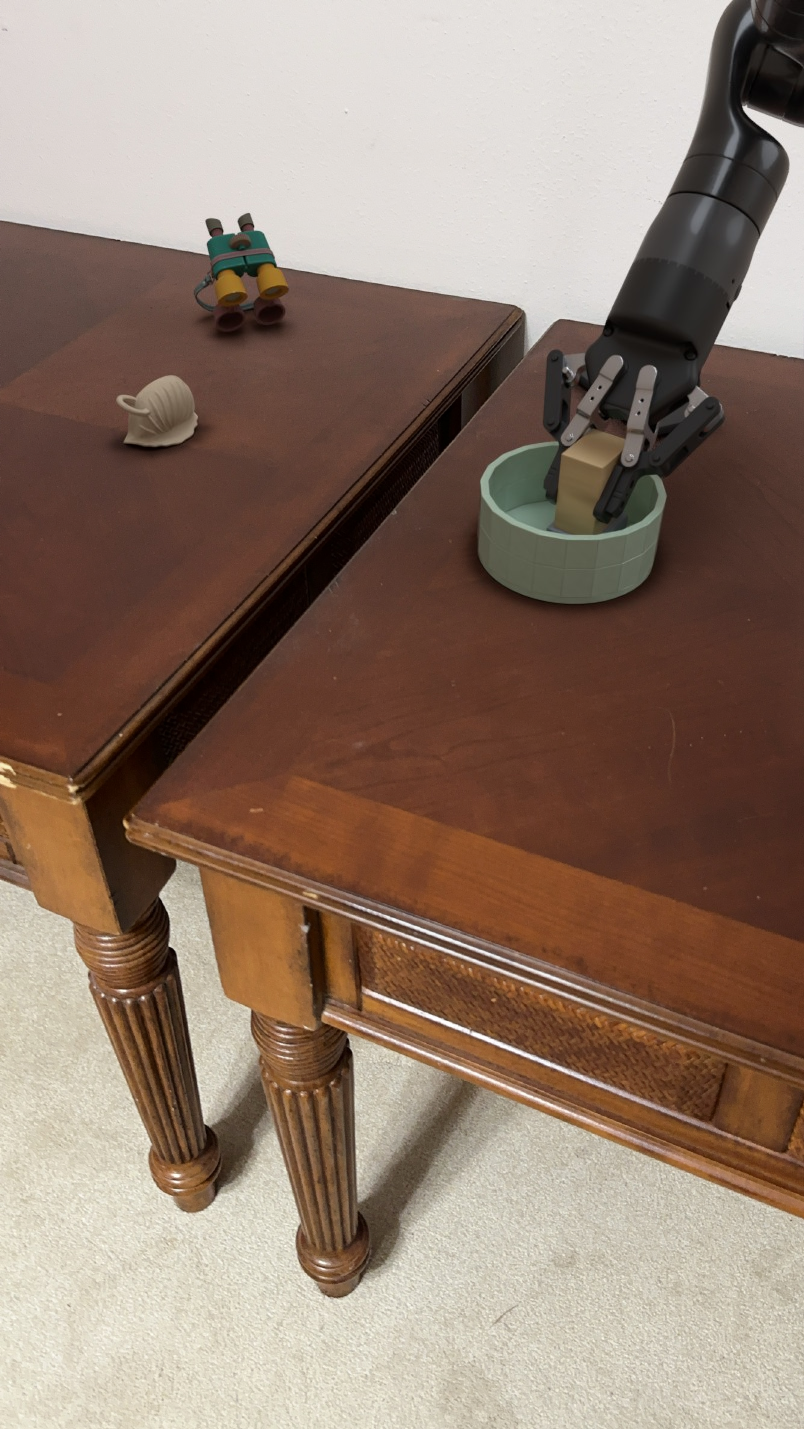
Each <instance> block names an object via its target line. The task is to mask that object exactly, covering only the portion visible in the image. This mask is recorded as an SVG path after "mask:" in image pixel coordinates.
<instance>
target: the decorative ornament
mask: <svg viewBox="0 0 804 1429" xmlns="http://www.w3.org/2000/svg"><path fill="white" fill-rule="evenodd" d="M127 403H129V404H131V405H128V404H127ZM116 404H117V405H118V406H119V407H120V408H121V409H122V410H124V411H125V412H127V413H128V416H127V417H128V420H127V434H126V437H125V438H124V440H123V444H131V445H138V446H142V447H152V448H157V447H170V446H175V445H181V444H183V443H184V442H185V441H186V440H188V439H190V438H191V437H192V436H194V433H195V429H196V428H197V427H198V420H199V416H198V415H197V414H196V412H195V409H196V408H195V399H194V395H193V393H192V391H191V388H190V387H189V385H188V384H187V383H185V381H184V380H182V379H181V378H180V377H178V376H177V375H173V374H171V375H170V374H169V375H165V376H162V377H159V378H156V379H155V380H153V381H152V382H150V383H149V384H147V385H145V386H144V387H143V389H141V390H140V391H139V392H138V394H137V395H136V396H133V395H128V394H120V395H118V396H117V397H116Z"/></svg>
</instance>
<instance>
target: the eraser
mask: <svg viewBox="0 0 804 1429" xmlns="http://www.w3.org/2000/svg"><path fill="white" fill-rule="evenodd" d="M625 440H626V438H624V437H621V436H617V435H614V434H612V433H608V432H605V431H603V432H602V431H599V430H596V429H592V430H590V431H589V432H588V433H587V434H585V435H584V436H583V437H582V438H581V439H579V440H578V441H577V442H576V443H574V444H573V445H572V446H571V447H570V448H568V449H567V450H566V451H565V452H563V453H562V455H561V465H560V474H559V484H558V493H557V502H556V512H555V521H554V522H553V523H552V524H550V525H549V526H548V527H547V531H549V532H554V533H560V534H566V535H598V534H603V533H609V532H614V531H619V530H623V529H625V528H626V526H627V520H628V515H627V514H625V513H622V514H621V515H620V516H619V517H618V518H617V519H616V518H613V517H612V519H611V521H610V522H609V523H608V524H605V523H602V522H599V521H598V520H597V519H596V518H595V517H594V516H593V510H594V507H595V505H596V503H597V501H598V500H599V498H600V496H601V494H602V492H603V490H604V487H605V485H606V483H607V481H608V479H609V477H610V475H611V472H612V470H613V468H614V466H615V465H617V466H619V464H620V462H621V455H622V451H623V447H624V443H625Z"/></svg>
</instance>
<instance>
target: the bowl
mask: <svg viewBox="0 0 804 1429" xmlns="http://www.w3.org/2000/svg"><path fill="white" fill-rule="evenodd" d="M558 448H559V443H558V442H557V441H544V442H537V443H532V444H526V445H523V446H521V447H518V448H517V447H516V448H515V449H512V450H510V451H507V452H505V453H502V454H501V455H500V456H499V457H497V458H496V459H494V460H493V461H492V462H491V463H489V464H488V465H487V466H486V469H485V470H484V472H483V474H482V475H481V478H480V481H479V494H478V495H479V496H478V515H477V533H476V534H477V535H476V537H477V539H476V540H477V545H476V546H477V548H476V549H477V556H478V558H479V561H480V563H481V565H482V566H483V568H484V569H485V571H486V572H487V573H488V574H489V576H490V577H492V578H493V579H494V580H495V581H496V582H498V583H499V584H500V585H501V586H504V587H506V588H507V589H509V590H510V591H513V592H515V593H517V594H520V595H521V596H525V597H529V598H531V599H534V600H539V601H542V602H548V603H555V604H566V605H583V604H595V603H600V602H606V601H609V600H612V599H616V598H619V597H621V596H624V595H626V594H628V593H630V592H632V591H634V590H635V589H636V588H638V587H639V586H641V585H642V584H643V582H645V580H647V579H648V577H649V575H650V574H651V572H652V569H653V567H654V563H655V558H656V555H657V550H658V545H659V540H660V534H661V530H662V525H663V524H662V523H663V518H664V513H665V507H666V503H667V497H668V495H667V492H666V489H665V486H664V483H663V480H662V478H661V477H659V476H658V475H645V476H643V477H641V478H640V479H639V480H638V481H637V483H636V485H635V487H634V489H633V491H632V494H631V496H630V498H629V500H628V502H627V504H626V506H625V509H624V511H623V513H625V514H627V515H628V520H627V526H626V528H625V529H623V530H619V531H614V532H609V533H603V534H598V535H566V534H560V533H554V532H549V531H547V527H548V526H549V525H550V524H552V523H553V522H554V521H555V512H556V505H554V504H551V503H550V502H549V501H548V500H547V499H546V497H545V495H546V490H545V489H544V488H543V485H544V479H545V477H546V475H547V473H548V471H549V468H550V466H551V464H552V462H553V460H554V458H555V455H556V453H557V451H558Z"/></svg>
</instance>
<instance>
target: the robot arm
mask: <svg viewBox="0 0 804 1429" xmlns="http://www.w3.org/2000/svg"><path fill="white" fill-rule="evenodd" d="M703 91H704V92H703V95H702V96H703V97H702V101H701V107H700V111H699V115H698V120H697V123H696V126H695V130H694V133H693V136H692V139H691V141H690V144H689V147H688V149H687V152H686V154H685V157H684V159H683V161H682V164H681V166H680V168H679V170H678V173H677V175H676V177H675V178H674V181H673V182H672V185H671V188H670V190H669V191H668V194H667V196H666V198H665V200H664V202H663V204H662V206H661V207H660V210H659V211H658V212H657V214H656V216H655V217H654V219H653V220H652V222H651V224H650V225H649V227H648V229H647V231H646V233H645V235H644V237H643V239H642V242H641V243H640V246H639V247H638V250H637V252H636V254H635V257H634V259H633V261H632V263H631V265H630V267H629V270H628V272H627V274H626V275H625V278H624V280H623V283H622V284H621V287H620V289H619V291H618V293H617V295H616V298H615V300H614V302H613V304H612V306H611V308H610V310H609V313H608V315H607V318H606V320H605V321H604V326H603V329H602V331H601V333H600V335H599V336H598V338H597V339H595V341H594V342H593V343H591V344H590V345H589V346H588V347H587V349H586V350H585V352H579V353H570V354H564V353H563V352H562V350H560V349H556V348H555V349H552V350H551V351H550V352H548V354H547V356H546V364H545V365H546V366H545V367H546V368H545V380H544V381H545V383H544V397H543V398H544V399H543V414H542V415H543V416H542V427H543V428H544V429H545V430H546V431H547V432H548V434H549V435H550V436H551V437H552V438H553V440H555V442H558V443H559V448H558V451H557V453H556V455H555V458H554V460H553V462H552V464H551V466H550V468H549V471H548V473H547V475H546V477H545V479H544V485H543V488H544V489H545V490H546V495H545V497H546V499H547V500H548V501H549V502H550V503H551V504H554V505H556V502H557V493H558V484H559V474H560V465H561V455H562V453H563V452H565V451H566V450H567V449H568V448H570V447H571V446H572V445H573V444H574V443H576V442H577V441H578V440H579V439H581V438H582V437H583V436H584V435H585V434H587V433H588V432H589V431H590V430H592V429H596V430H599V431H602V432H605V430H606V429H607V428H608V426H609V424H610V423H611V422H612V421H613V420H616V421H617V420H620V421H621V420H622V421H623V420H624V421H626V422H627V423H626V436H625V439H626V440H625V443H624V447H623V451H622V455H621V462H620V464H619V466H617V465H615V466H614V468H613V470H612V472H611V475H610V477H609V479H608V481H607V483H606V485H605V487H604V490H603V492H602V494H601V496H600V498H599V500H598V501H597V503H596V505H595V507H594V510H593V516H594V517H595V518H596V519H597V520H598V521H599V522H602V523H605V524H608V523H609V522H610V521H611V519H612V517H613V518H616V519H617V518H618V517H619V516H620V515H621V514H622V513H623V511H624V509H625V506H626V504H627V502H628V500H629V498H630V496H631V494H632V491H633V489H634V487H635V485H636V483H637V481H638V480H639V479H640V478H641V477H643V476H645V475H658V476H659V478H667V477H669V476H670V475H671V474H672V473H673V472H674V471H675V470H677V468H678V467H680V466H681V465H682V464H683V463H684V462H685V461H686V460H687V459H688V458H689V457H690V456H692V454H693V453H694V452H695V451H696V450H697V449H698V448H699V447H700V446H701V445H703V443H704V442H706V440H707V439H708V438H709V437H710V436H712V435H713V433H715V431H717V430H718V429H719V428H720V427H721V426H722V425H723V424H724V422H725V420H726V415H725V411H724V408H723V406H722V403H721V402H720V401H719V398H717V397H716V396H710V395H708V394H707V393H706V392H705V391H703V389H701V385H702V382H701V373H702V370H703V367H704V365H705V364H706V362H707V360H708V358H709V356H710V354H711V351H712V349H713V347H714V345H715V343H716V341H717V339H718V336H719V334H720V332H721V330H722V329H723V326H724V324H725V321H726V320H727V318H728V315H729V313H730V311H731V309H732V307H733V305H734V303H735V301H737V300H738V298H739V295H740V293H741V292H742V291H741V290H742V288H743V283H744V281H745V279H746V276H747V274H748V272H749V269H750V267H751V263H752V260H753V257H754V254H755V251H756V247H757V245H758V243H759V240H760V239H761V236H762V234H763V232H764V231H765V228H766V227H767V226H766V225H767V224H768V221H769V219H770V218H771V215H772V213H773V211H774V208H775V206H776V204H777V203H778V201H779V198H780V195H781V193H782V191H783V189H784V187H785V185H786V183H787V179H788V176H789V173H790V157H789V155H788V152H787V151H786V149H785V148H784V146H783V145H782V143H781V142H780V141H779V140H778V139H777V138H775V136H773V135H772V134H771V133H770V132H768V131H767V130H765V129H764V128H763V127H762V126H760V125H759V124H757V123H756V122H755V121H754V120H753V119H752V118H751V117H750V116H749V115H748V114H747V113H746V111H745V110H744V107H747V109H750V110H752V111H754V112H755V111H756V112H758V113H761V114H763V115H766V116H768V117H772V118H774V119H776V120H779V121H782V122H784V123H787V124H789V125H792V126H795V127H798V128H802V129H804V0H731V1H730V2H729V3H728V5H727V6H726V7H725V9H724V10H723V12H722V14H721V15H720V17H719V19H718V23H717V25H716V27H715V30H714V34H713V38H712V41H711V47H710V52H709V58H708V64H707V71H706V78H705V84H704V90H703ZM584 371H587V377H588V382H589V387H590V389H589V390H588V389H587V390H588V391H586V393H585V395H584V396H583V398H582V399H581V401H580V402H579V403H578V405H577V407H576V412H575V414H574V416H573V417H572V419H571V404H572V387H576V386H577V385H578V384H579V383H580V382H579V379H580V376H581V374H582V373H583V372H584ZM688 402H689V405H688V407H687V408H686V409H685V412H684V416H685V419H684V420H683V421H682V422H681V423H680V424H679V425H678V426H677V427H676V428H675V429H674V430H673V431H672V432H670V433H668V434H667V435H666V436H665V437H664V438H663V439H662V440H661V441H660V442H659V443H658V444H657V445H656V446H655V444H656V441H657V437H658V435H657V434H658V430H659V426H660V422H661V420H662V419H663V418H665V417H666V416H668V415H669V414H671V413H672V412H674V411H676V410H677V409H679V408H680V407H682V406H683V405H685V404H686V403H688ZM654 446H655V447H654ZM652 448H653V449H652Z"/></svg>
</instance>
